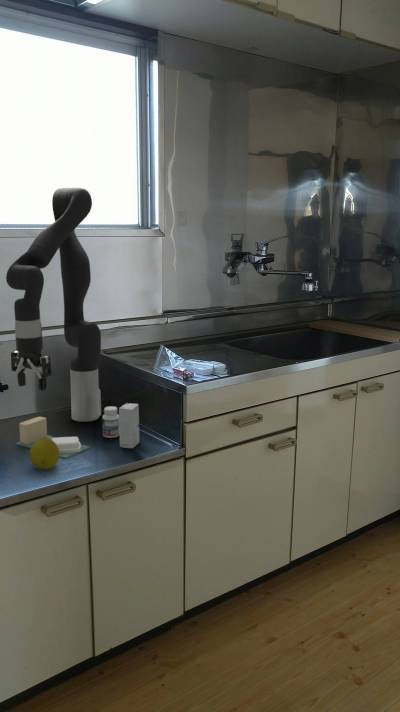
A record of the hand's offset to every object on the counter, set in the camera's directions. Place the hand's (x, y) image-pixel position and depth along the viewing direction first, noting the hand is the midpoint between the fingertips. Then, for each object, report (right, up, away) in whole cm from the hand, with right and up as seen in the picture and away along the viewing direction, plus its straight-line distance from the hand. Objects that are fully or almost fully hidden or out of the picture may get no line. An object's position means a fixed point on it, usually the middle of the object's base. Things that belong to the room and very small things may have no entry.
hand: (32, 387), depth 178 cm
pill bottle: (+22, -16, +10) cm, 29 cm away
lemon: (+8, -21, -15) cm, 27 cm away
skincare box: (+29, -17, +2) cm, 34 cm away
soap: (+11, -18, -3) cm, 21 cm away
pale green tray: (+6, -17, 0) cm, 18 cm away
